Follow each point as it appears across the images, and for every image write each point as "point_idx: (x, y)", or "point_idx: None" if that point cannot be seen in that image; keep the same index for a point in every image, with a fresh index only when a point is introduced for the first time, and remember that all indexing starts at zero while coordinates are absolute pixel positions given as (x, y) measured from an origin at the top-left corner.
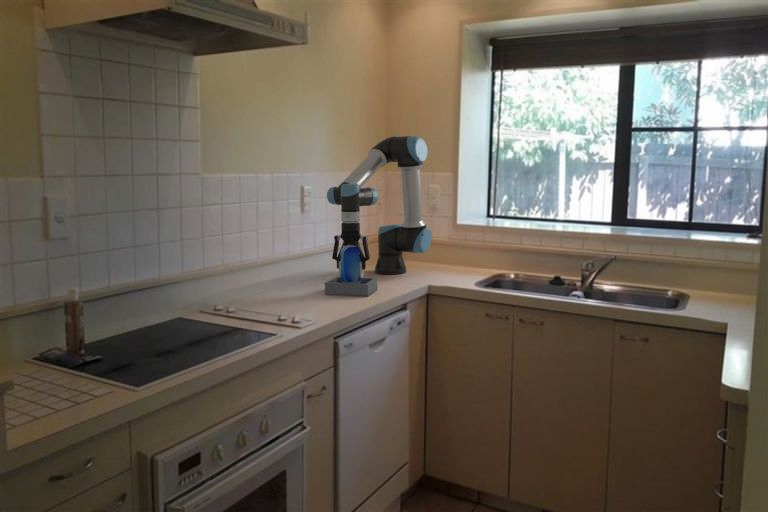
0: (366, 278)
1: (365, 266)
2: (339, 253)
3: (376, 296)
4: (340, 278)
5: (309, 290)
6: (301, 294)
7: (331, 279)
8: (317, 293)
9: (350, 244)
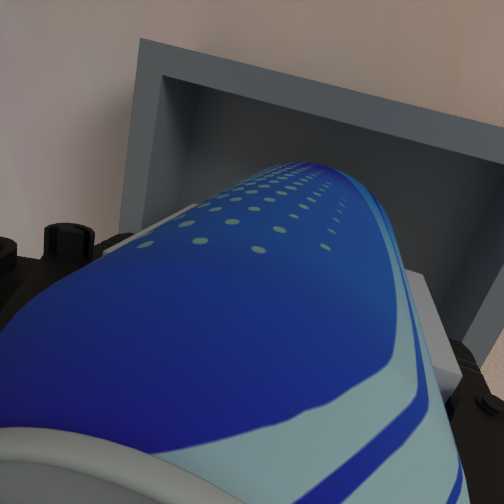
0: (462, 152)
1: (473, 371)
2: None
3: (487, 375)
4: (191, 82)
5: (35, 142)
6: (30, 256)
7: (128, 195)
8: (103, 238)
9: (47, 455)
